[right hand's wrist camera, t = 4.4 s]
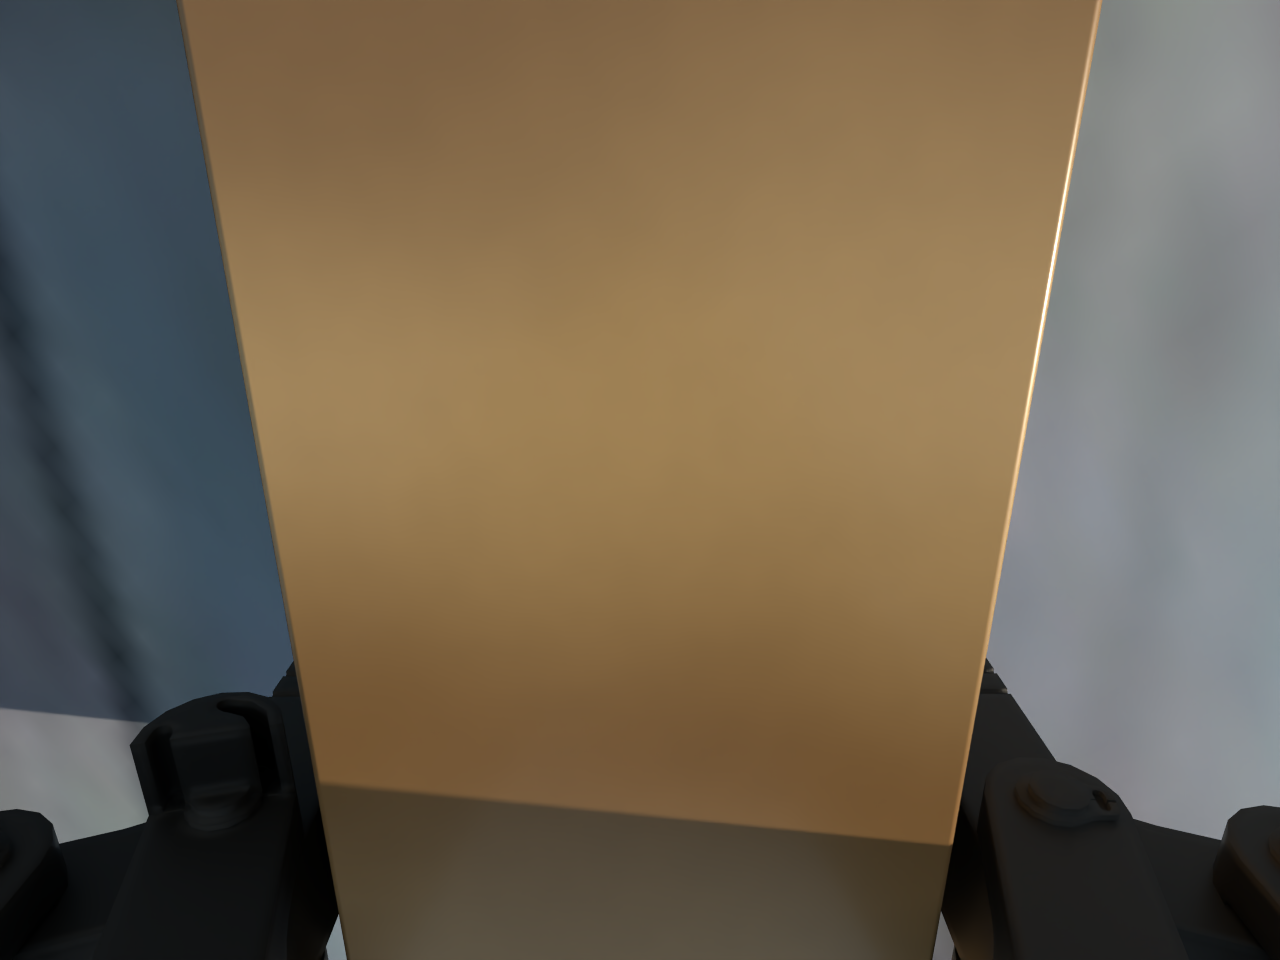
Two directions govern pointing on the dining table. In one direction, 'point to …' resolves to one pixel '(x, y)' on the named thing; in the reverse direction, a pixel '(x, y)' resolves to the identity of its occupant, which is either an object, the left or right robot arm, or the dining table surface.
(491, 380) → the post
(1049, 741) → the dining table surface
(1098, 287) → the dining table surface
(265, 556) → the dining table surface
